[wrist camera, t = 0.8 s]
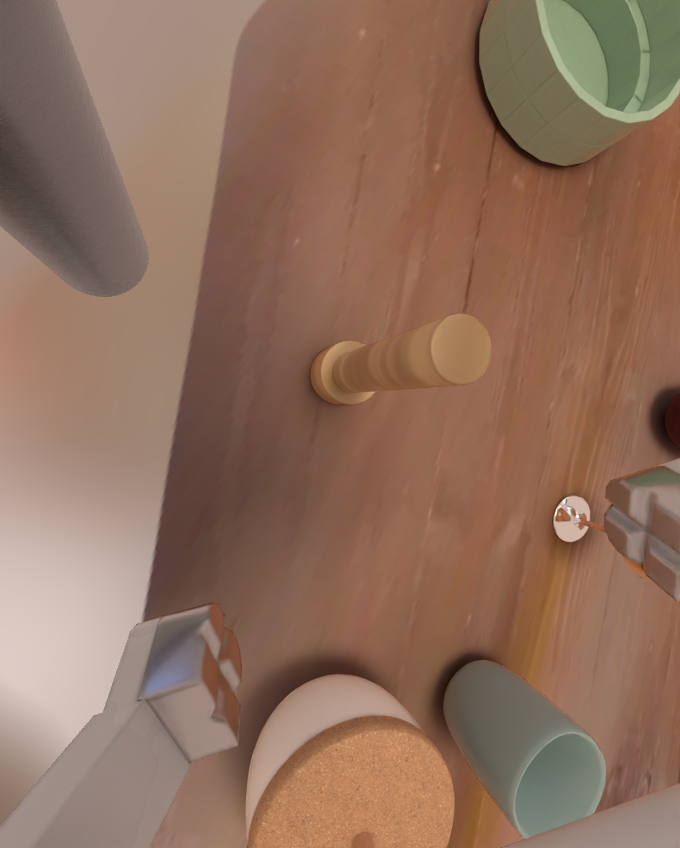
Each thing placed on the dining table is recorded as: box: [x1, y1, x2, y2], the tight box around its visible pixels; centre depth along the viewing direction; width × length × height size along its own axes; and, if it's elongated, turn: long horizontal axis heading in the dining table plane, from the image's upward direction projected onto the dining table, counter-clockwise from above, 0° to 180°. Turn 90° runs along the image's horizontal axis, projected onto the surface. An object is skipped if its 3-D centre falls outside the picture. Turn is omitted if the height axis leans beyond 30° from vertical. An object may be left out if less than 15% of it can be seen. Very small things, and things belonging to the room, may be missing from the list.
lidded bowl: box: [245, 674, 455, 848], centre depth 27 cm, size 13×13×11 cm
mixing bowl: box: [479, 0, 680, 166], centre depth 33 cm, size 15×15×6 cm
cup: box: [443, 660, 606, 839], centre depth 32 cm, size 8×8×10 cm
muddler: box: [310, 313, 492, 405], centre depth 24 cm, size 4×4×16 cm
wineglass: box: [553, 495, 659, 587], centre depth 33 cm, size 6×6×12 cm
